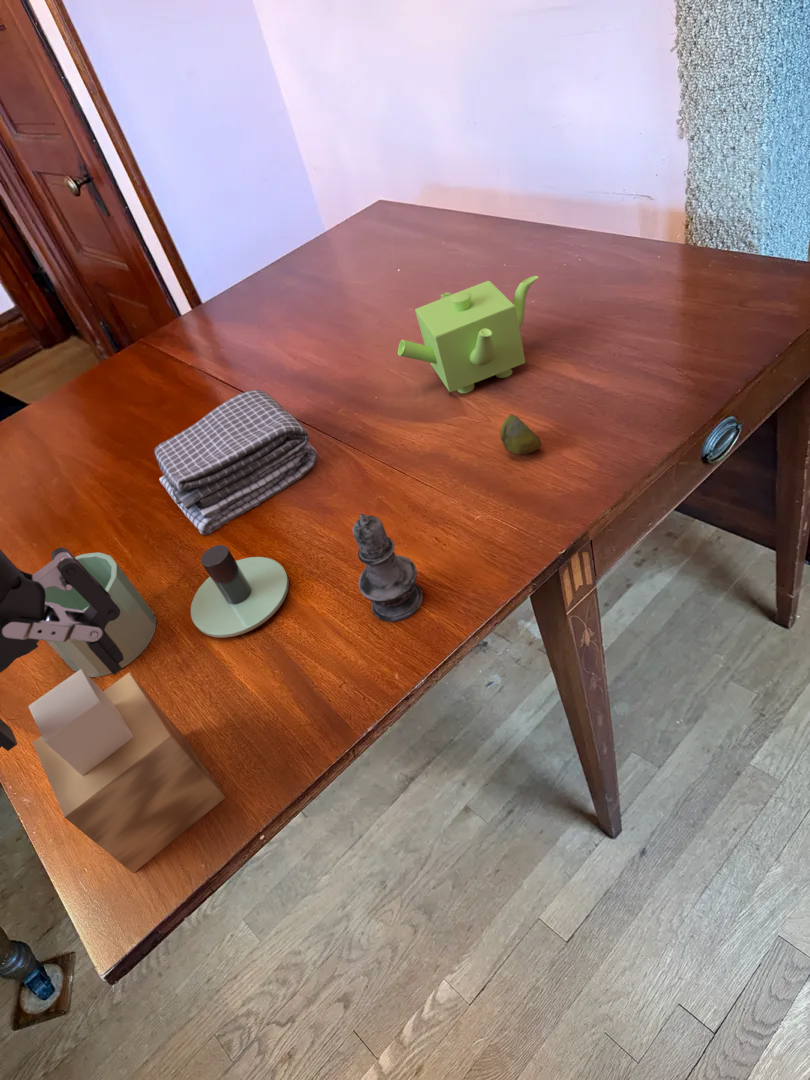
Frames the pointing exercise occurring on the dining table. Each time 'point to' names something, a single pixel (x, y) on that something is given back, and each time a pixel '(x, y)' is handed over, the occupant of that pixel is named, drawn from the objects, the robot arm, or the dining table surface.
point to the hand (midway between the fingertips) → (64, 702)
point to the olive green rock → (518, 436)
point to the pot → (125, 631)
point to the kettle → (471, 335)
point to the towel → (234, 459)
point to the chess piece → (385, 572)
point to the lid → (237, 593)
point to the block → (80, 722)
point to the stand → (135, 783)
